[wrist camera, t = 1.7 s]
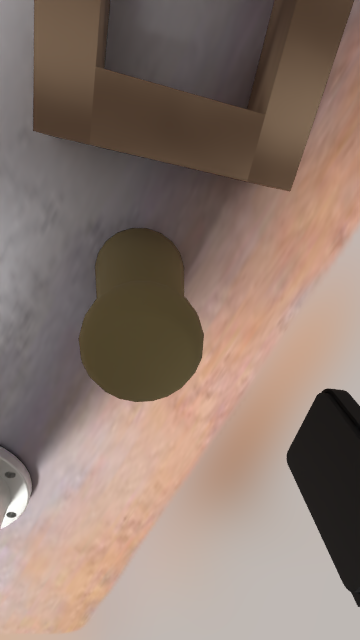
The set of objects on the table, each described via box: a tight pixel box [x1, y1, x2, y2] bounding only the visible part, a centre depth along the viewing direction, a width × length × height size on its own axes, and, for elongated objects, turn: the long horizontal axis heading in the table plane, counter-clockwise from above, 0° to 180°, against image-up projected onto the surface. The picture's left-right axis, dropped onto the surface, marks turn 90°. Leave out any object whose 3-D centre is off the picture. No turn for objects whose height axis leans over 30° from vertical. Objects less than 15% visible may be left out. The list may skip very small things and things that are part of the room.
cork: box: [79, 228, 204, 402], centre depth 17 cm, size 6×6×11 cm
